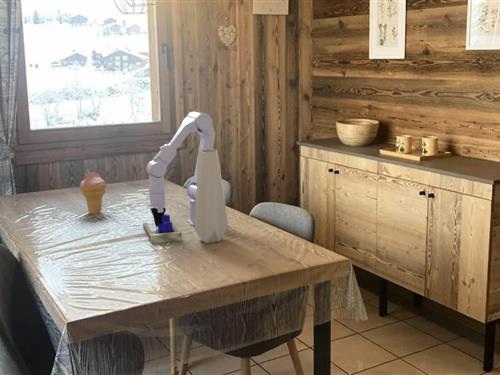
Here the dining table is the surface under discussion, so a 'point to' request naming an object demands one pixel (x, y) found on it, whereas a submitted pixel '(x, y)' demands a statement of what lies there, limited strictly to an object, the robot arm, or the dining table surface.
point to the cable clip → (165, 225)
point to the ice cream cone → (93, 191)
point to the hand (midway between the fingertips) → (158, 226)
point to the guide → (163, 235)
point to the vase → (210, 198)
